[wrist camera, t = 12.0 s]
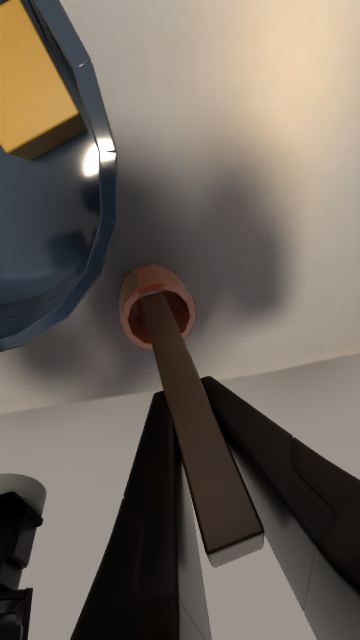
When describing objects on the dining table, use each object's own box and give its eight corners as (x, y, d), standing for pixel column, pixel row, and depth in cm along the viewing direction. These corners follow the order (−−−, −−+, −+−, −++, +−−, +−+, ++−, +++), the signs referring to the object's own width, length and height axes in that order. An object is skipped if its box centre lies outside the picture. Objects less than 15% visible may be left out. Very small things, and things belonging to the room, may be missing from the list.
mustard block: (30, 161, 12) (6, 154, 9) (-24, 80, 10) (-71, 43, 7) (88, 129, 12) (80, 113, 9) (42, 43, 10) (17, -7, 7)
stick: (145, 316, 13) (212, 569, 5) (139, 297, 13) (206, 556, 5) (167, 309, 13) (264, 548, 5) (162, 290, 13) (266, 532, 5)
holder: (130, 328, 17) (134, 358, 14) (111, 273, 15) (109, 295, 12) (186, 312, 18) (201, 338, 15) (174, 256, 16) (188, 273, 13)
